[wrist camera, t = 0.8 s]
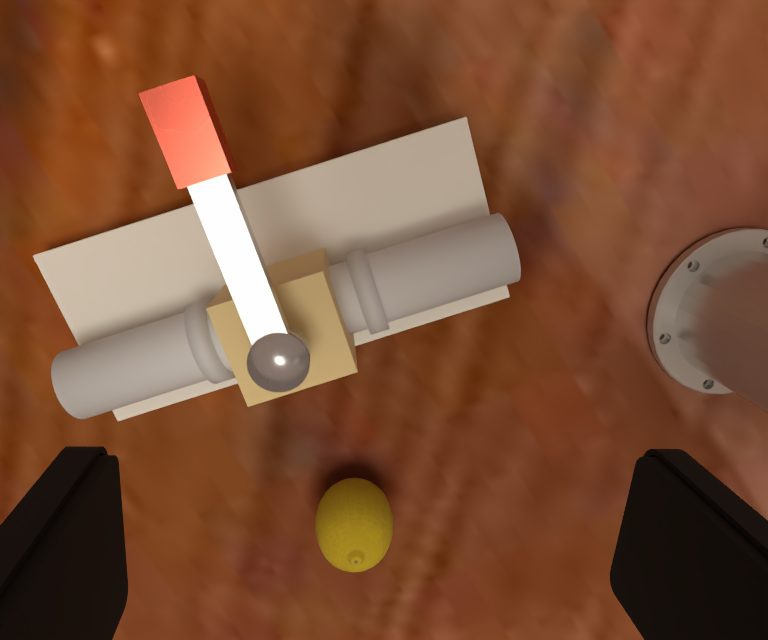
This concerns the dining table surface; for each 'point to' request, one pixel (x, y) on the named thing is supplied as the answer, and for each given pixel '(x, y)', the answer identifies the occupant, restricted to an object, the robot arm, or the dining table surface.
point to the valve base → (280, 231)
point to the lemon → (354, 524)
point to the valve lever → (226, 227)
